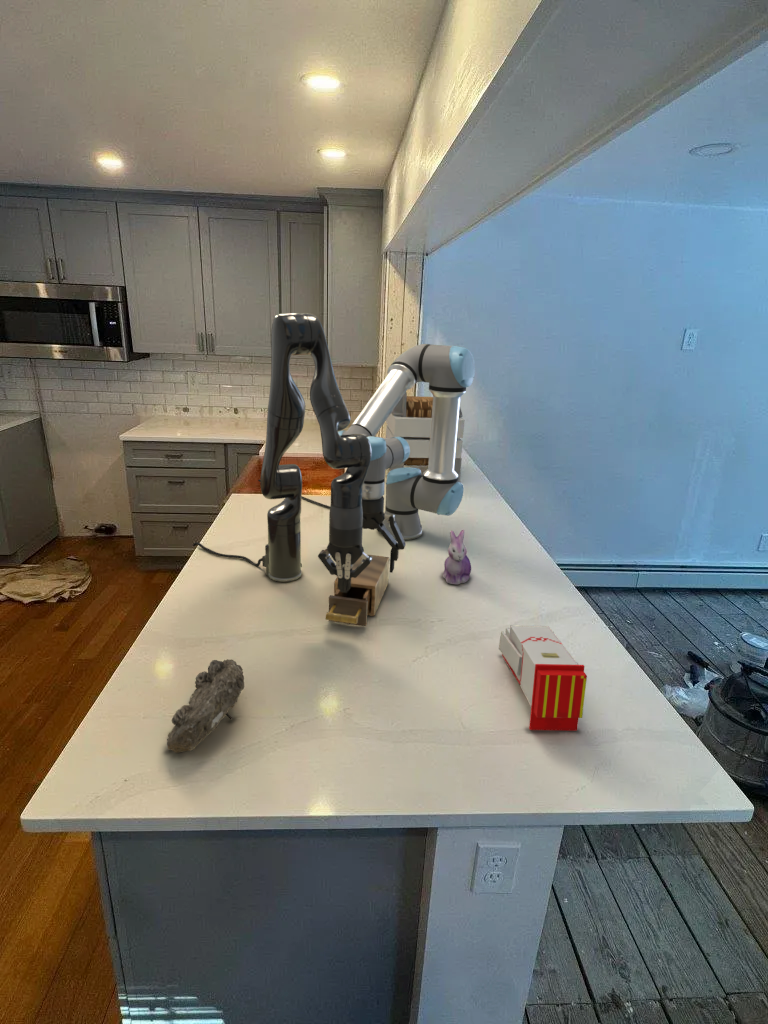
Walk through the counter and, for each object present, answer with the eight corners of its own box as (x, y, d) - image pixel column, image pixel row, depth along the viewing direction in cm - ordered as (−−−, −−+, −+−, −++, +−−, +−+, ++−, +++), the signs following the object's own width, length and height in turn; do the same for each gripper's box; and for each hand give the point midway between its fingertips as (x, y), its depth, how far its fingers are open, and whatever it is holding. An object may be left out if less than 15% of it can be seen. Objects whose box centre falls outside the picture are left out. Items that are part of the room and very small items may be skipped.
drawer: (360, 639, 134) (360, 614, 132) (321, 633, 135) (321, 609, 133) (380, 593, 155) (381, 571, 153) (346, 589, 157) (347, 567, 155)
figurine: (453, 588, 162) (457, 540, 157) (434, 573, 170) (437, 527, 165) (479, 582, 166) (485, 535, 161) (459, 568, 175) (464, 523, 170)
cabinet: (374, 616, 146) (375, 586, 143) (333, 610, 148) (334, 581, 145) (388, 584, 163) (389, 557, 160) (351, 579, 165) (352, 552, 162)
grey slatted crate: (382, 463, 289) (386, 382, 275) (445, 464, 293) (451, 384, 279) (390, 482, 257) (394, 392, 243) (460, 483, 261) (468, 394, 247)
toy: (545, 610, 133) (596, 671, 104) (540, 662, 136) (588, 737, 106) (494, 609, 133) (530, 670, 103) (490, 662, 135) (524, 736, 106)
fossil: (192, 660, 117) (244, 628, 112) (224, 691, 120) (276, 661, 115) (142, 746, 98) (202, 712, 93) (182, 779, 101) (242, 748, 96)
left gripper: (312, 524, 125) (312, 594, 131) (370, 531, 123) (368, 602, 129) (322, 513, 132) (322, 580, 138) (378, 520, 130) (375, 587, 136)
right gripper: (320, 495, 150) (321, 567, 157) (414, 504, 145) (409, 578, 153) (329, 487, 157) (328, 556, 164) (418, 495, 152) (414, 567, 160)
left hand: (344, 591), depth 133 cm, fingers closed
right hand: (367, 567), depth 159 cm, fingers open, 13 cm apart
